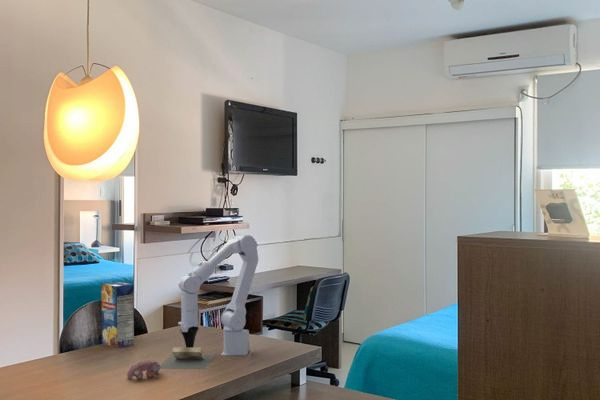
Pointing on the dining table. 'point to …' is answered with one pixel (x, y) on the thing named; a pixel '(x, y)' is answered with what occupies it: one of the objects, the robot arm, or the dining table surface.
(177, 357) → the slab
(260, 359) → the dining table surface
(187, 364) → the mat
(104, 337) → the juice carton
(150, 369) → the purple toy animal
